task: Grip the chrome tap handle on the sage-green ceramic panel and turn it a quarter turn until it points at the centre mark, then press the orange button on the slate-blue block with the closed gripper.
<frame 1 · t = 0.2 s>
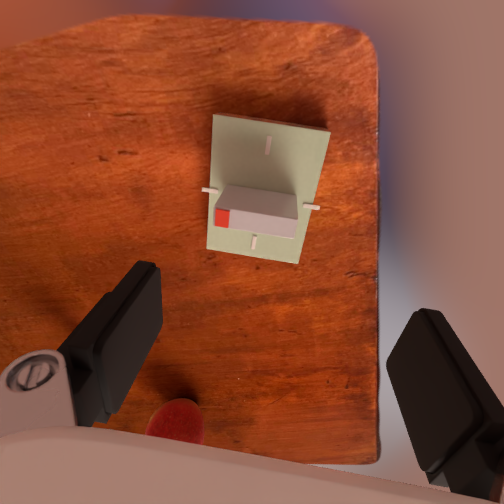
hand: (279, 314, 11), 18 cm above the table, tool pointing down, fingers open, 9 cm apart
tap handle: (257, 210, 23), point 5 cm above the table, hinge at -90.0°
apple: (186, 401, 46), on the table
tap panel: (262, 190, 27), on the table
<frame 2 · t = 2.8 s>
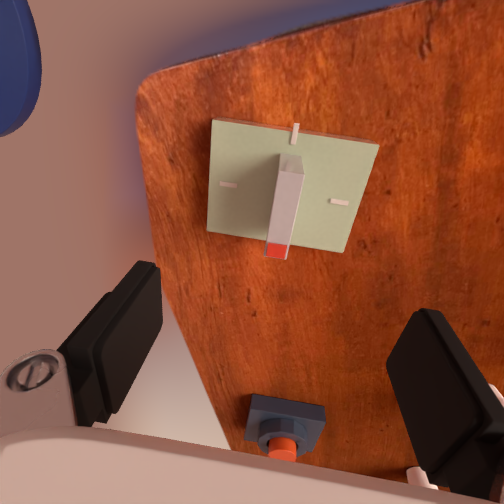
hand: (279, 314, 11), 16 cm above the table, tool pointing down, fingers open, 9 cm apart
tap handle: (283, 205, 21), point 5 cm above the table, hinge at -90.0°
button block: (282, 415, 42), on the table
cup: (417, 470, 46), on the table
button: (282, 449, 38), point 4 cm above the table, slide at 0.1 cm
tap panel: (283, 184, 25), on the table
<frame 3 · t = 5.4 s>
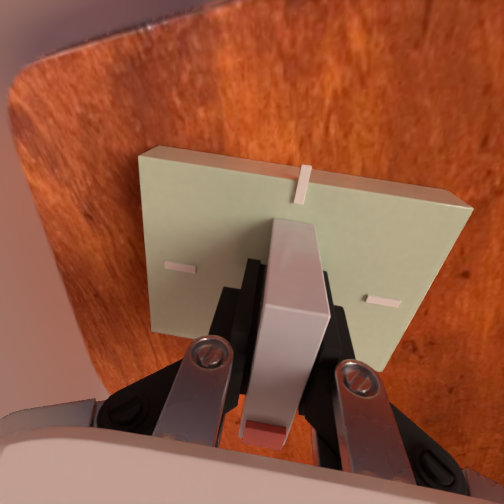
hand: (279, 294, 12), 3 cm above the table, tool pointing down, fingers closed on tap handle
tap handle: (278, 327, 10), point 5 cm above the table, hinge at -90.0°, touching gripper
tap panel: (281, 258, 14), on the table
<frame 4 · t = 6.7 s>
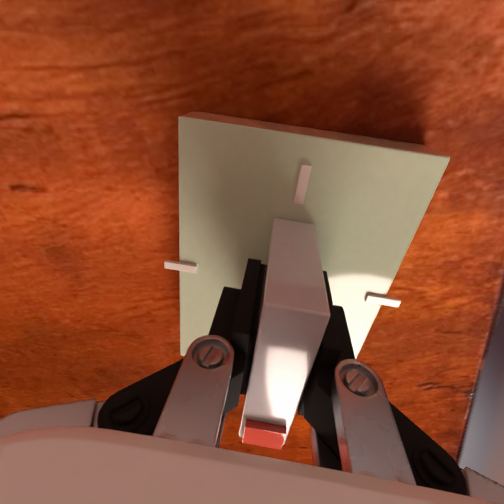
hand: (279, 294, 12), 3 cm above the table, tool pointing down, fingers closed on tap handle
tap handle: (278, 327, 10), point 5 cm above the table, hinge at 0.0°, touching gripper
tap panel: (281, 258, 14), on the table
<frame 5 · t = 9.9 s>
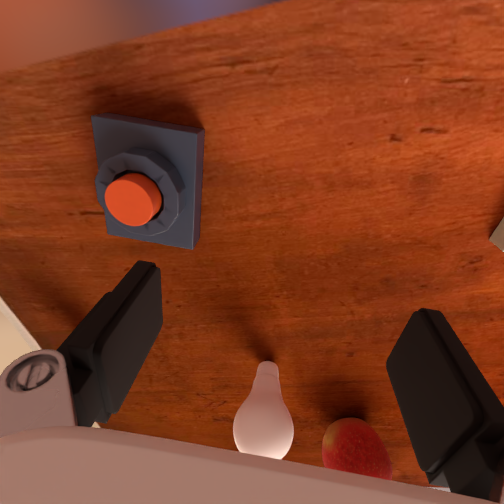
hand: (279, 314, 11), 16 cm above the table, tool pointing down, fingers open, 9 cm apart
lightbulb: (268, 361, 36), on the table
apple: (348, 420, 41), on the table
button block: (157, 181, 26), on the table
button: (134, 199, 22), point 4 cm above the table, slide at 0.1 cm
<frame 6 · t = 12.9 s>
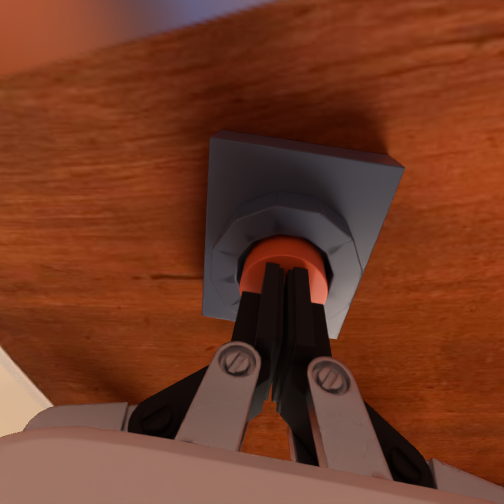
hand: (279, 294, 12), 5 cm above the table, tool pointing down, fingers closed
button block: (285, 235, 16), on the table
button: (283, 279, 13), point 4 cm above the table, slide at -0.2 cm, touching gripper
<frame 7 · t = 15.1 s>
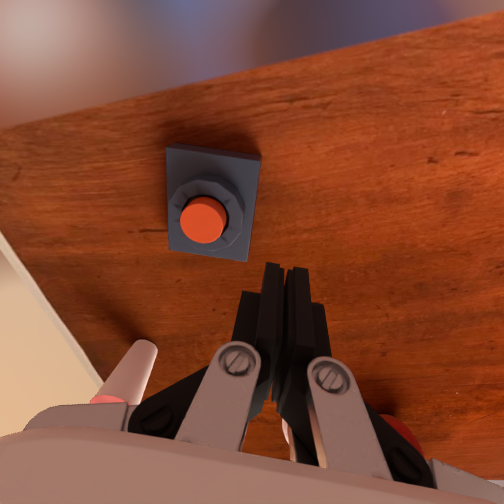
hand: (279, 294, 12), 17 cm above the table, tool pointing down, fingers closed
apple: (379, 416, 43), on the table
button block: (214, 201, 28), on the table
cup: (146, 346, 40), on the table
button: (203, 219, 25), point 4 cm above the table, slide at 0.1 cm
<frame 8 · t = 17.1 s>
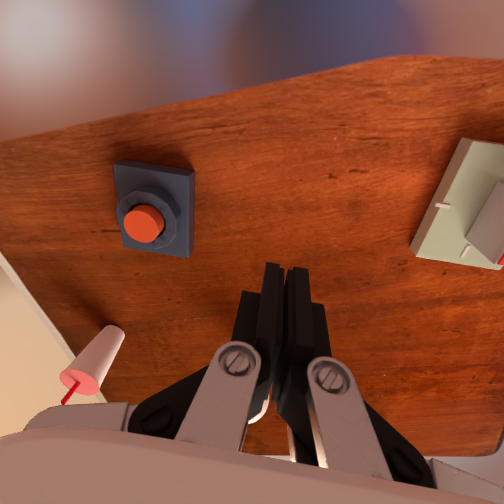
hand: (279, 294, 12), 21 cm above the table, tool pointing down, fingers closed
button block: (160, 207, 34), on the table
cup: (114, 331, 46), on the table
button: (144, 223, 30), point 4 cm above the table, slide at 0.1 cm
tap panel: (476, 204, 30), on the table
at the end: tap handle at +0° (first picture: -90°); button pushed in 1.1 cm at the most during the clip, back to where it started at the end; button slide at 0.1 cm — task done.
